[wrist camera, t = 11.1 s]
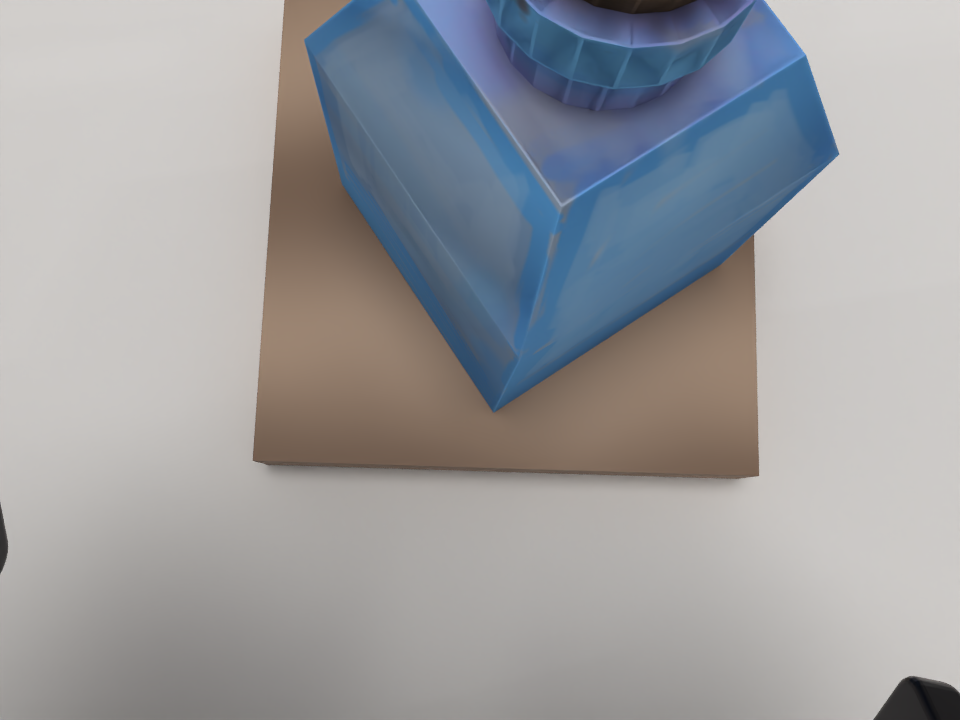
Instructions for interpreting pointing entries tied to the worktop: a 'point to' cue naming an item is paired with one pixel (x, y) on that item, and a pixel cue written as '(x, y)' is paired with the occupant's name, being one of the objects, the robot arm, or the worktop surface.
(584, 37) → the perfume bottle
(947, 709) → the robot arm
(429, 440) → the walnut block
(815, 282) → the worktop surface
